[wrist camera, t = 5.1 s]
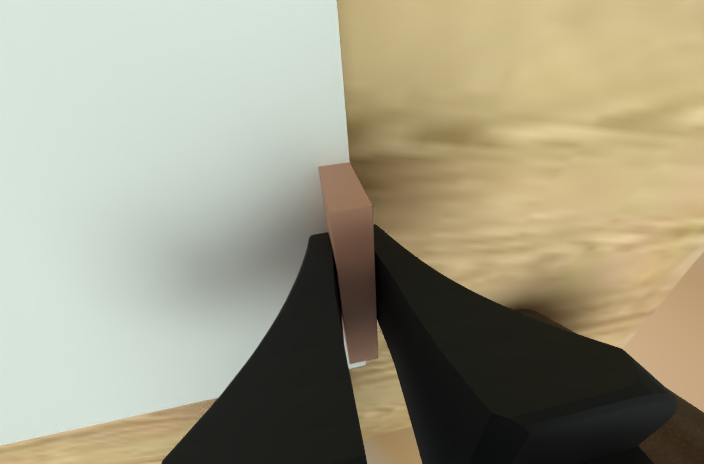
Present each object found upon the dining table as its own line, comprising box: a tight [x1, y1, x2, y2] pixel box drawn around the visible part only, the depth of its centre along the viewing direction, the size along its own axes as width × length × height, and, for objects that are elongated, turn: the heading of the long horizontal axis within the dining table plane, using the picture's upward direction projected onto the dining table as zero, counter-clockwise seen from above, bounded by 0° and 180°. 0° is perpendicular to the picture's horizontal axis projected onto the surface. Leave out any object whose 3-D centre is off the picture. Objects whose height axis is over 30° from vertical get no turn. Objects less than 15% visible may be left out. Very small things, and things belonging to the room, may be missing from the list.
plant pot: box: [516, 310, 704, 464], centre depth 20 cm, size 15×15×16 cm
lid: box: [0, 0, 378, 445], centre depth 8 cm, size 17×21×4 cm
